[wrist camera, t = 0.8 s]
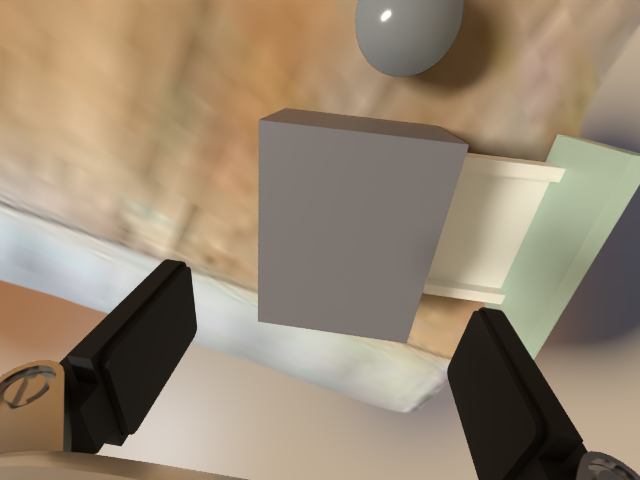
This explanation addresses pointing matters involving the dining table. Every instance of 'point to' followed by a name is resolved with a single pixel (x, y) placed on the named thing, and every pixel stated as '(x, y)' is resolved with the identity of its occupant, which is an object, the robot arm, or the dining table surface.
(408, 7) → the grey round dome
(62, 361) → the robot arm
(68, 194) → the dining table surface
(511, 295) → the green drawer
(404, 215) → the grey drawer cabinet
